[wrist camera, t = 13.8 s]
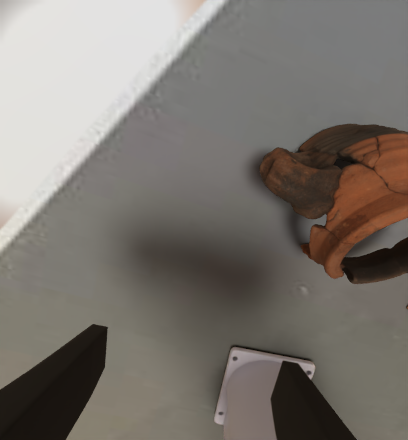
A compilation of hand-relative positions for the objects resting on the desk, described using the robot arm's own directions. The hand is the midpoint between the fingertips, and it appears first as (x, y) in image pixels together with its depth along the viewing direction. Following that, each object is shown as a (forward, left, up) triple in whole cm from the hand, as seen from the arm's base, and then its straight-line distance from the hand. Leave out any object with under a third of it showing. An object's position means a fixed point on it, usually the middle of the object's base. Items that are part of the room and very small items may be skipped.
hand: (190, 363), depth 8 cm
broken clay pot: (+8, -8, -10) cm, 15 cm away
